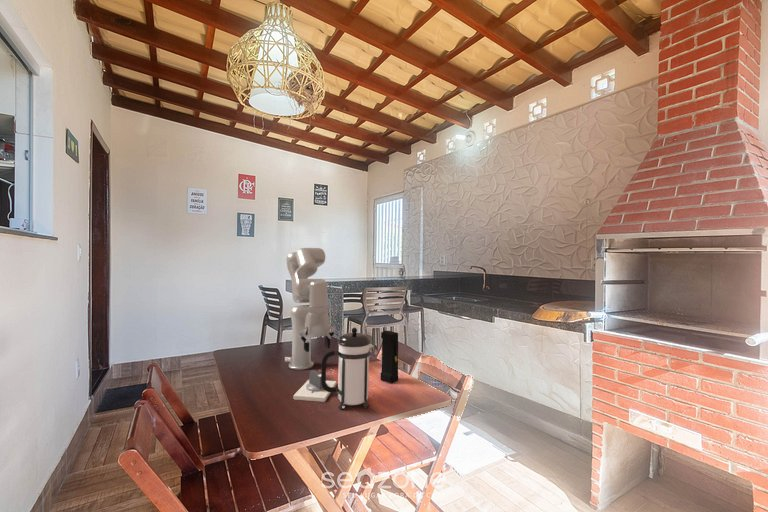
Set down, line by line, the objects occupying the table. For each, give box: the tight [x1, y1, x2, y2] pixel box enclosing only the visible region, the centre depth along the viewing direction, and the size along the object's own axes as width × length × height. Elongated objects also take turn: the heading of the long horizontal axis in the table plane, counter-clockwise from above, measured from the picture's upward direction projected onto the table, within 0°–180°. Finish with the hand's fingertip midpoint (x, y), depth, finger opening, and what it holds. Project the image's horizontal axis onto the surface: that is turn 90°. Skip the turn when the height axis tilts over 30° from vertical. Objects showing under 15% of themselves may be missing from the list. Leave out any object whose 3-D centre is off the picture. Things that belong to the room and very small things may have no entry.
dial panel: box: [292, 379, 337, 403], centre depth 145 cm, size 13×18×2 cm
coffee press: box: [320, 327, 374, 411], centre depth 134 cm, size 17×16×30 cm
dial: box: [306, 369, 327, 391], centre depth 146 cm, size 9×9×6 cm
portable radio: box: [380, 325, 399, 384], centre depth 159 cm, size 8×6×25 cm
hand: (317, 349), depth 147 cm, fingers open, 9 cm apart
